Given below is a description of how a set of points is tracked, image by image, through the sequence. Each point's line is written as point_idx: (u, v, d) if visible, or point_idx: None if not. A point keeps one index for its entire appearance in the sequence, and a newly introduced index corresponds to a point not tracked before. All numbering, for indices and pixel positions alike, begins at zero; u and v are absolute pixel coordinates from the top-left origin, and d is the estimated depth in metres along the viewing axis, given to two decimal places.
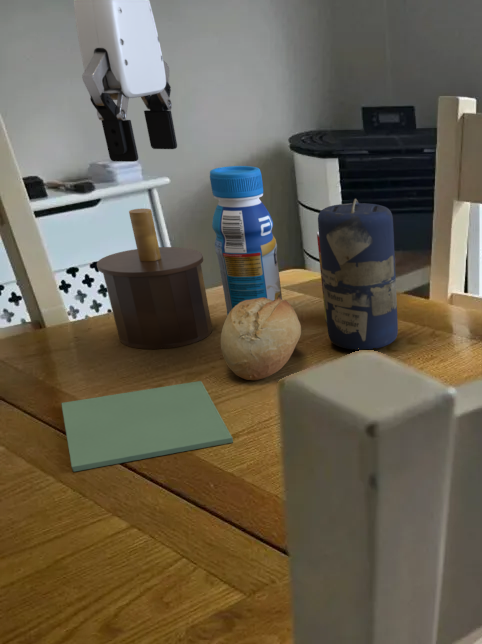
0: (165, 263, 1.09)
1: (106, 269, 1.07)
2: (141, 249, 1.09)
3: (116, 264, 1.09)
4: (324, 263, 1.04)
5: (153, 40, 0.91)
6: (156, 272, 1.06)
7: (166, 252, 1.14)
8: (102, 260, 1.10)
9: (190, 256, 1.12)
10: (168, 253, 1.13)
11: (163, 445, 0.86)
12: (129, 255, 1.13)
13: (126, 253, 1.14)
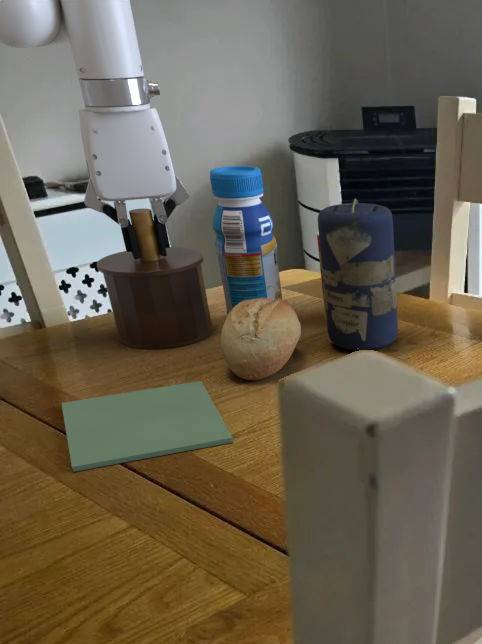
0: (165, 263, 1.09)
1: (106, 269, 1.07)
2: (141, 249, 1.09)
3: (116, 264, 1.09)
4: (323, 263, 1.04)
5: (150, 154, 1.03)
6: (156, 272, 1.06)
7: (166, 252, 1.14)
8: (102, 260, 1.10)
9: (190, 256, 1.12)
10: (168, 253, 1.13)
11: (163, 445, 0.86)
12: (129, 255, 1.13)
13: (126, 253, 1.14)
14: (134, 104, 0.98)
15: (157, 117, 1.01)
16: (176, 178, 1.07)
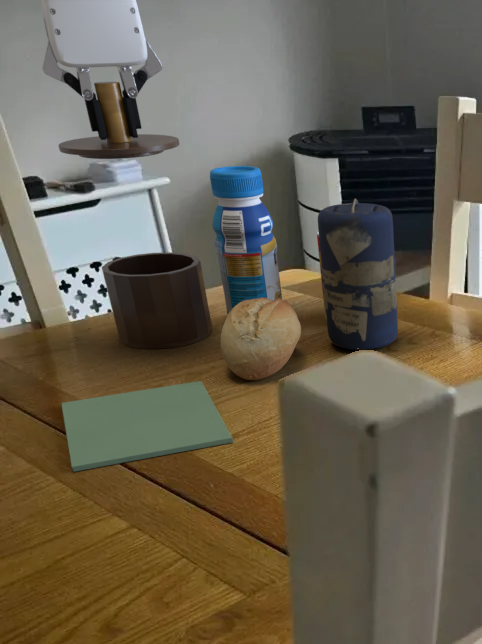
0: (136, 144, 0.97)
1: (68, 148, 0.94)
2: (108, 128, 0.97)
3: (80, 145, 0.96)
4: (323, 263, 1.04)
5: (117, 11, 0.90)
6: (125, 150, 0.94)
7: (138, 137, 1.02)
8: (65, 142, 0.98)
9: (164, 139, 1.00)
10: (140, 138, 1.01)
11: (163, 445, 0.86)
12: (96, 139, 1.00)
13: (93, 138, 1.01)
14: None
15: None
16: (147, 45, 0.94)
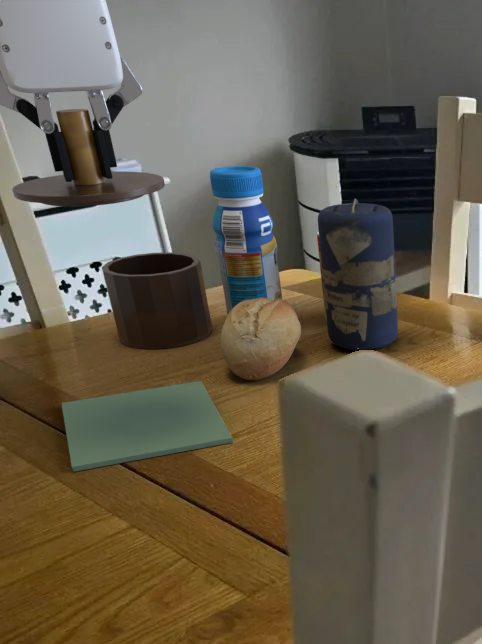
0: (109, 187, 0.77)
1: (24, 193, 0.75)
2: (75, 168, 0.77)
3: (40, 188, 0.77)
4: (323, 263, 1.04)
5: (83, 21, 0.71)
6: (94, 196, 0.74)
7: (114, 176, 0.82)
8: (22, 184, 0.79)
9: (146, 180, 0.80)
10: (116, 177, 0.81)
11: (163, 445, 0.86)
12: (61, 179, 0.81)
13: (58, 177, 0.82)
14: None
15: None
16: (123, 63, 0.75)
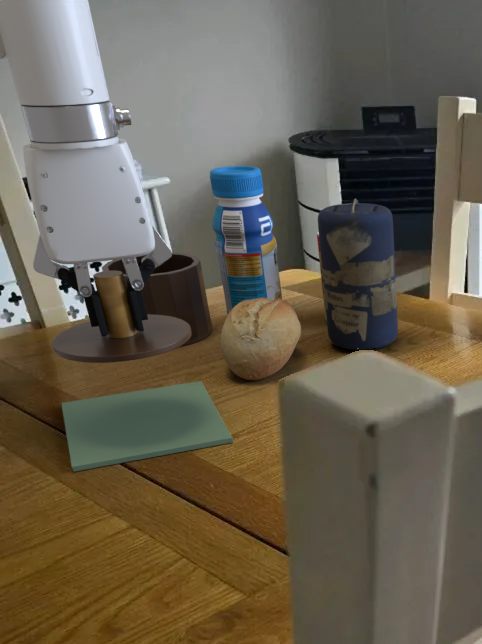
0: (141, 341, 0.83)
1: (63, 351, 0.81)
2: (109, 323, 0.84)
3: (77, 343, 0.83)
4: (323, 263, 1.04)
5: (119, 202, 0.77)
6: (128, 356, 0.81)
7: (144, 323, 0.89)
8: (60, 336, 0.85)
9: (174, 329, 0.86)
10: (146, 324, 0.88)
11: (163, 445, 0.86)
12: (96, 328, 0.87)
13: None
14: (96, 139, 0.73)
15: (128, 154, 0.76)
16: (155, 232, 0.81)
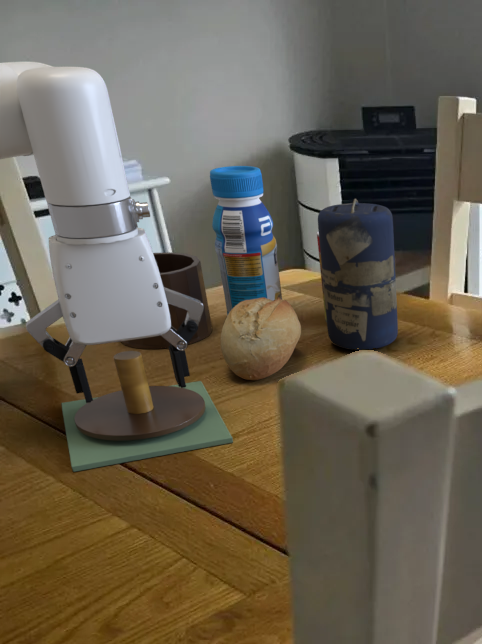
0: (158, 418, 0.88)
1: (85, 429, 0.86)
2: (129, 400, 0.88)
3: (98, 419, 0.88)
4: (323, 263, 1.04)
5: (138, 289, 0.82)
6: (147, 434, 0.85)
7: (160, 396, 0.93)
8: (81, 411, 0.90)
9: (189, 404, 0.91)
10: (162, 398, 0.93)
11: (163, 445, 0.86)
12: (115, 401, 0.92)
13: (111, 398, 0.93)
14: (117, 233, 0.78)
15: (147, 245, 0.81)
16: (179, 297, 0.85)
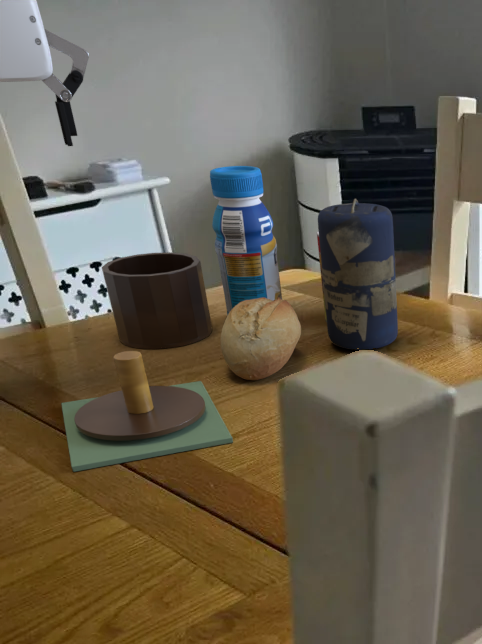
0: (158, 418, 0.88)
1: (85, 429, 0.86)
2: (129, 400, 0.88)
3: (98, 419, 0.88)
4: (323, 263, 1.04)
5: (14, 20, 0.79)
6: (147, 434, 0.85)
7: (160, 396, 0.93)
8: (81, 411, 0.90)
9: (189, 404, 0.91)
10: (162, 398, 0.93)
11: (163, 445, 0.86)
12: (115, 401, 0.92)
13: (111, 398, 0.93)
14: None
15: None
16: (61, 40, 0.83)
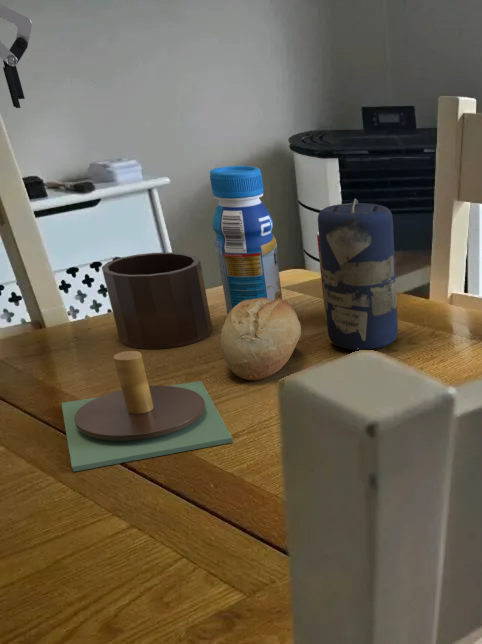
0: (158, 418, 0.88)
1: (85, 429, 0.86)
2: (129, 400, 0.88)
3: (98, 419, 0.88)
4: (323, 263, 1.04)
5: None
6: (147, 434, 0.85)
7: (160, 396, 0.93)
8: (81, 411, 0.90)
9: (189, 404, 0.91)
10: (162, 398, 0.93)
11: (163, 445, 0.86)
12: (115, 401, 0.92)
13: (111, 398, 0.93)
14: None
15: None
16: (6, 9, 0.91)
